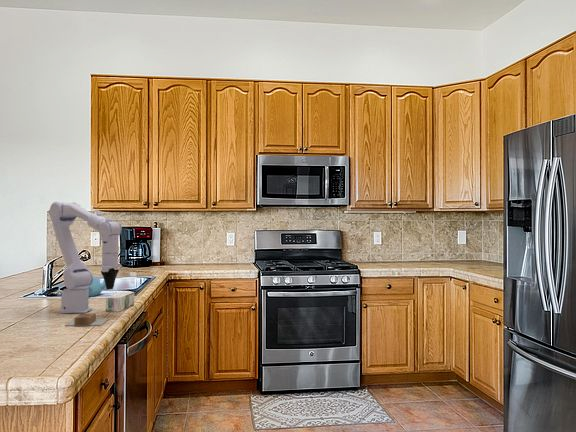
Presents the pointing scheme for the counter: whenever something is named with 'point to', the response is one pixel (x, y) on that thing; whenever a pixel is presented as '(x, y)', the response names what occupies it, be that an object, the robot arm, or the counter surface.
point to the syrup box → (119, 301)
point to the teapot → (96, 287)
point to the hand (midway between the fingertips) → (109, 289)
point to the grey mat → (96, 323)
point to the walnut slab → (85, 319)
